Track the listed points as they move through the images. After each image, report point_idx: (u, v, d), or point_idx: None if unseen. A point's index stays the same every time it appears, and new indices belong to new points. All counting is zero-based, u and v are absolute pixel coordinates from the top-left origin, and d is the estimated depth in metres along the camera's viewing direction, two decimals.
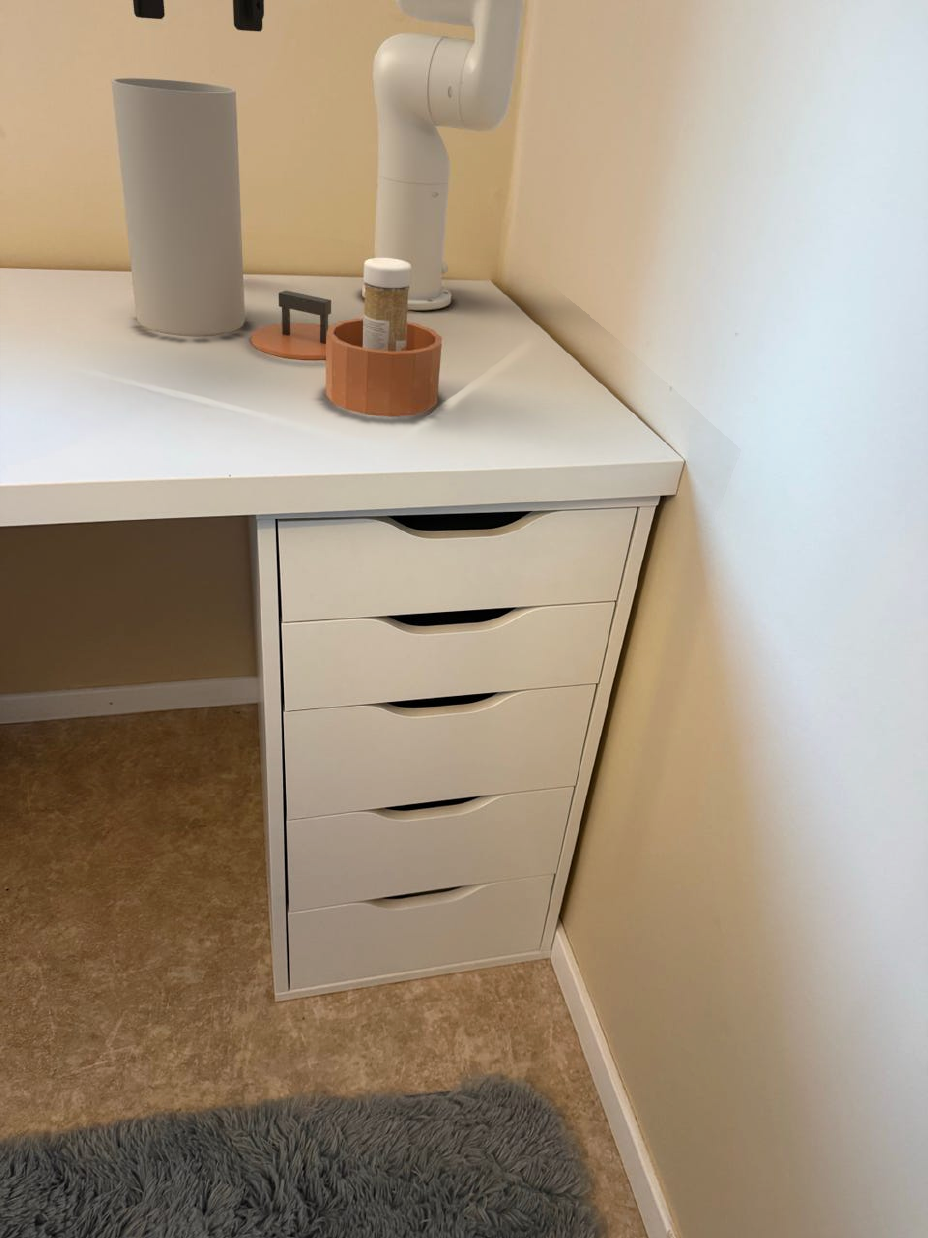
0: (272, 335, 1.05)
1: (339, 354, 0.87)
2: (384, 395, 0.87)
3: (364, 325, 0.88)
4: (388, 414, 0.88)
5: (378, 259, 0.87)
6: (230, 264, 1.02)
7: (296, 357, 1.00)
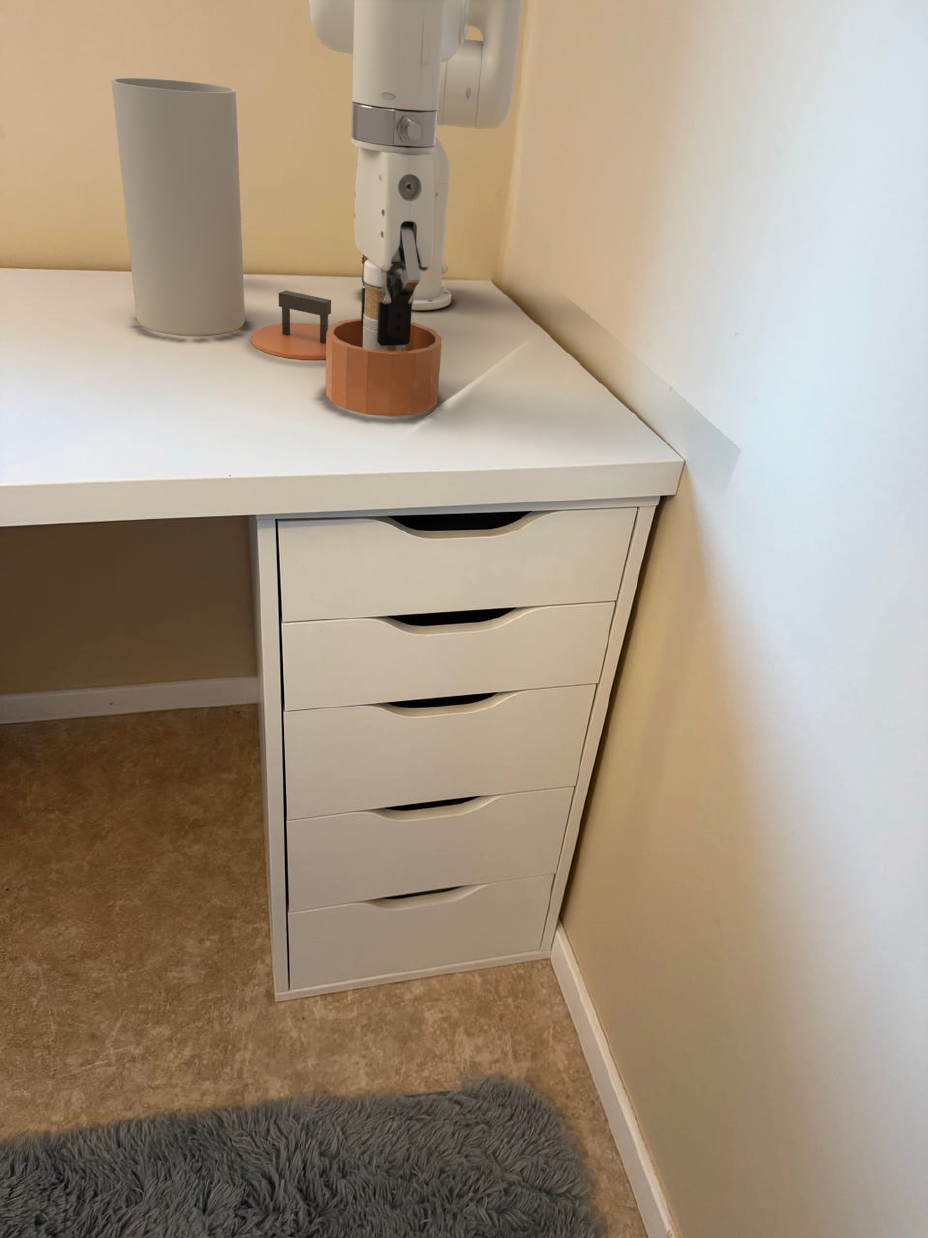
0: (272, 335, 1.05)
1: (339, 354, 0.87)
2: (384, 395, 0.87)
3: (364, 325, 0.88)
4: (388, 414, 0.88)
5: None
6: (230, 264, 1.02)
7: (296, 357, 1.00)
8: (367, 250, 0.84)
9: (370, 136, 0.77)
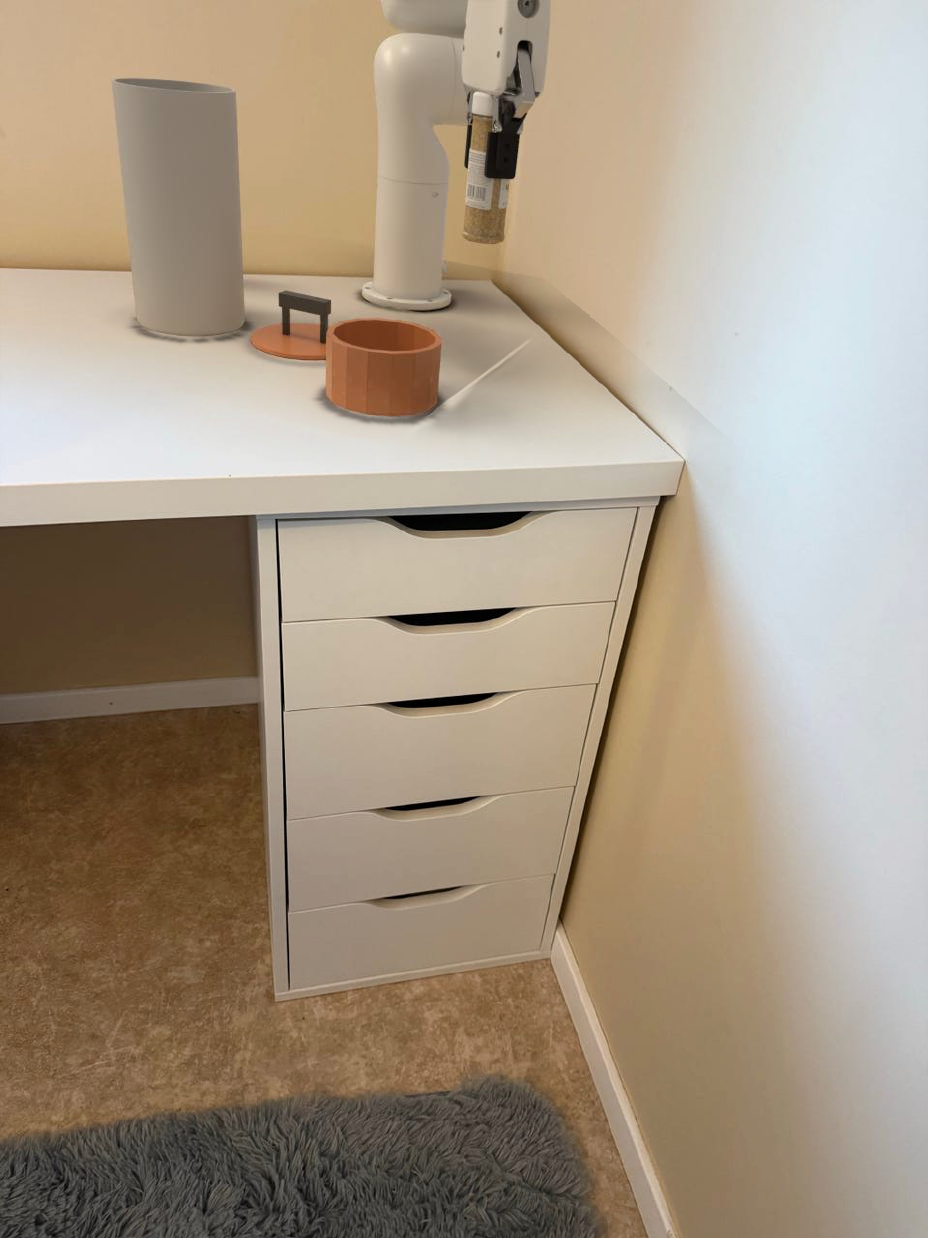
0: (272, 335, 1.05)
1: (339, 354, 0.87)
2: (384, 395, 0.87)
3: (470, 160, 0.90)
4: (388, 414, 0.88)
5: None
6: (230, 264, 1.02)
7: (296, 357, 1.00)
8: (478, 78, 0.86)
9: None
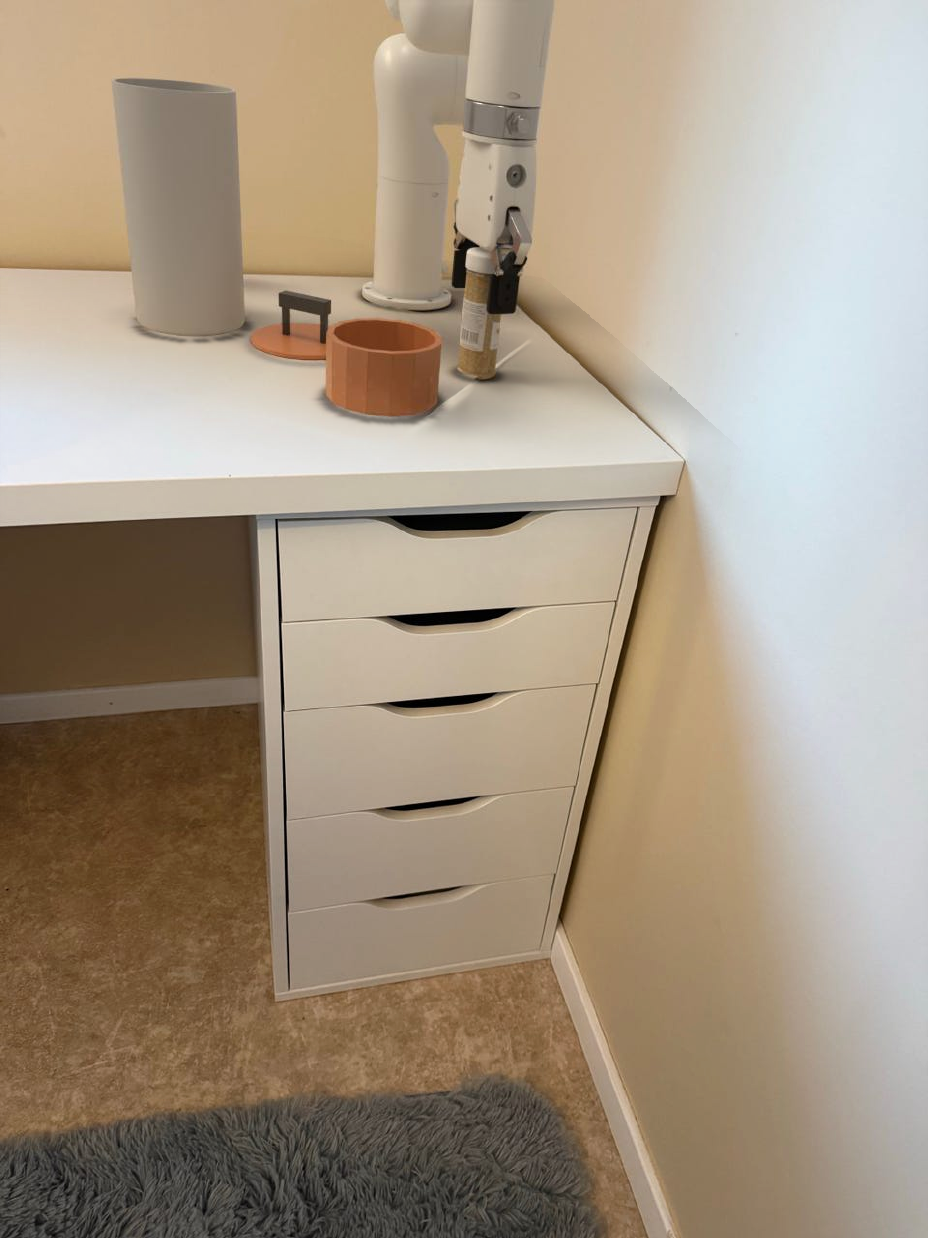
0: (272, 335, 1.05)
1: (339, 354, 0.87)
2: (384, 395, 0.87)
3: (464, 308, 0.98)
4: (388, 414, 0.88)
5: (479, 248, 0.96)
6: (230, 264, 1.02)
7: (296, 357, 1.00)
8: (471, 232, 0.94)
9: (483, 130, 0.87)
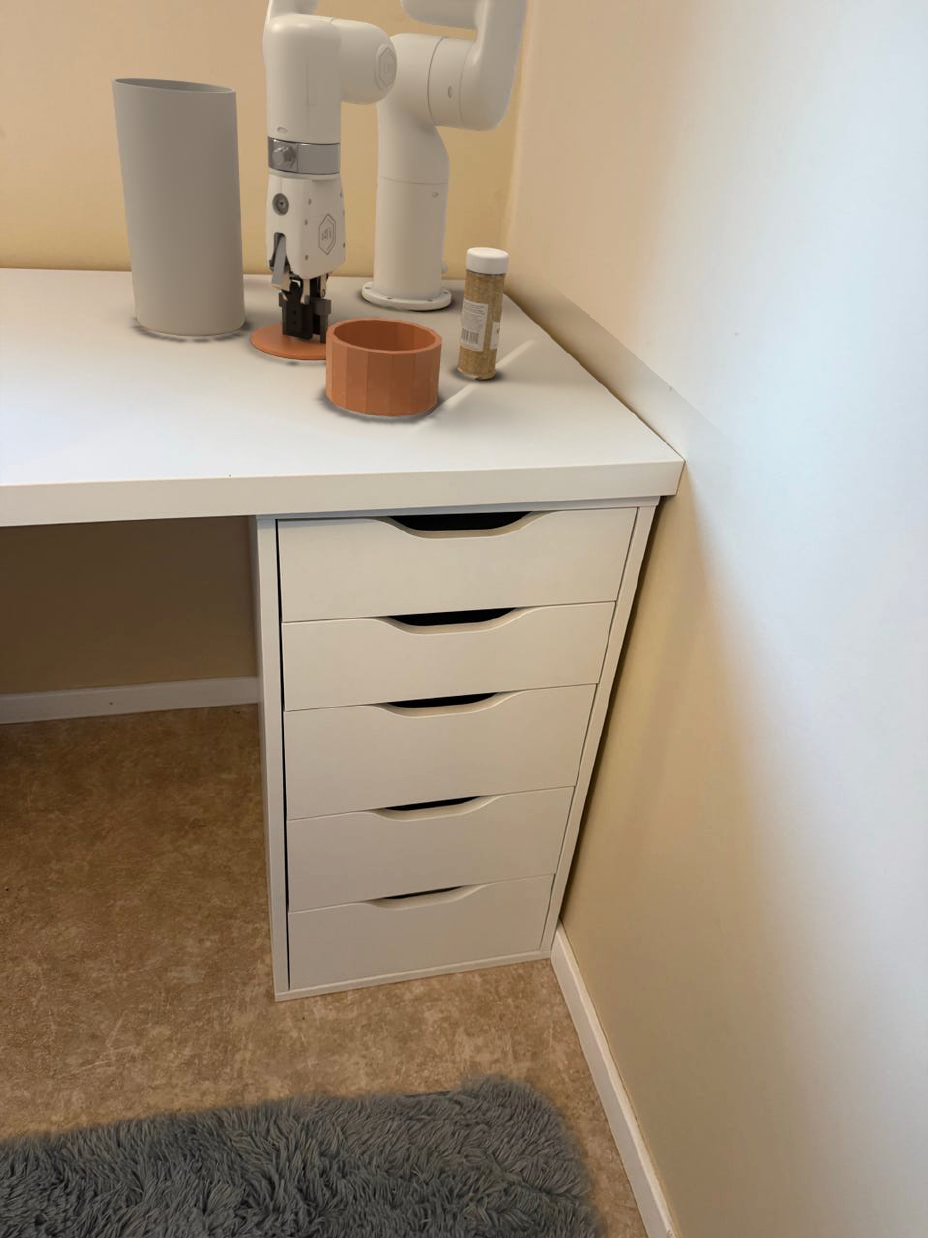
0: (272, 335, 1.05)
1: (339, 354, 0.87)
2: (384, 395, 0.87)
3: (464, 308, 0.98)
4: (388, 414, 0.88)
5: (479, 248, 0.96)
6: (230, 264, 1.02)
7: (296, 357, 1.00)
8: None
9: (268, 160, 0.94)
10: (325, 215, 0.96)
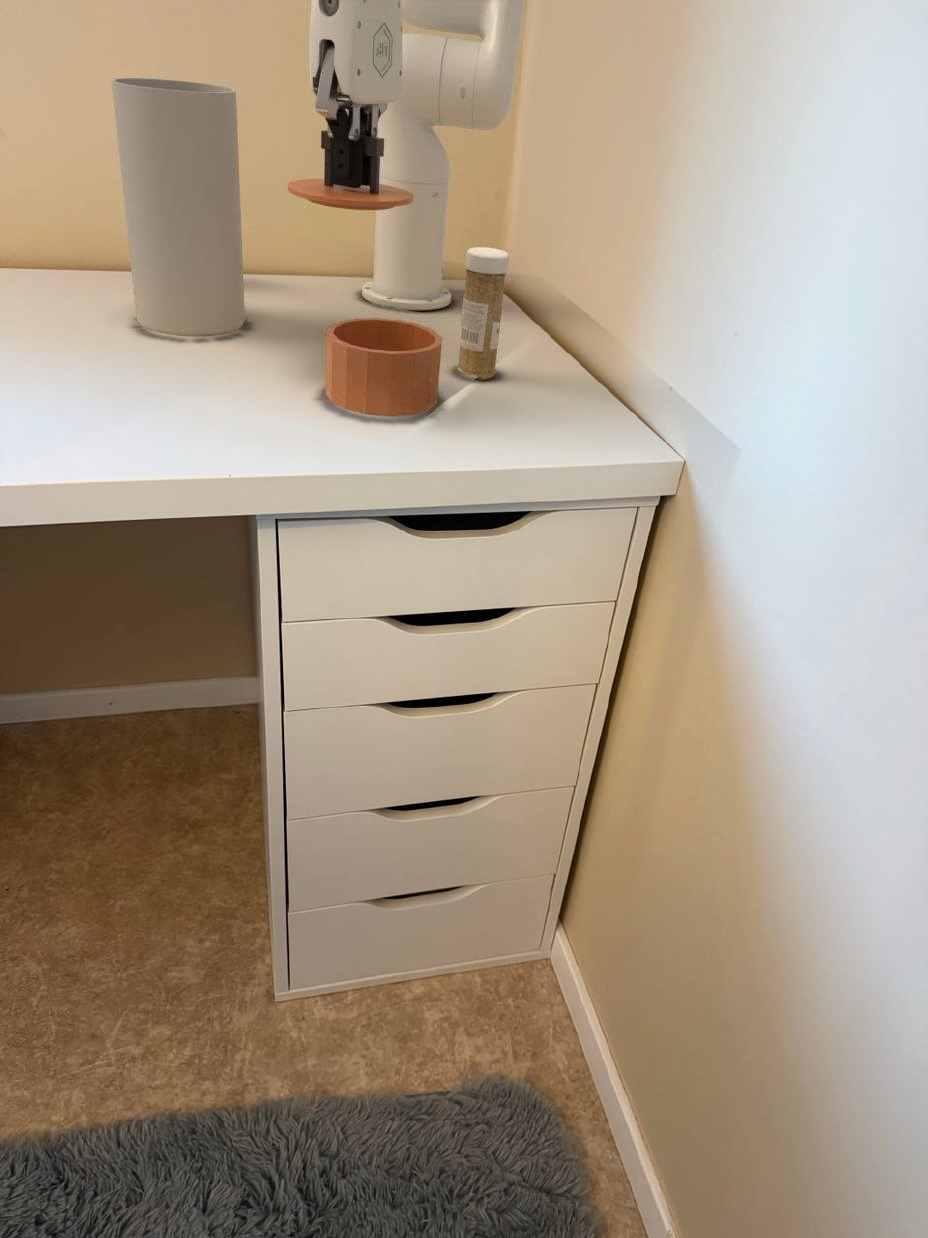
0: (312, 185, 0.88)
1: (339, 354, 0.87)
2: (384, 395, 0.87)
3: (464, 308, 0.98)
4: (388, 414, 0.88)
5: (479, 248, 0.96)
6: (230, 264, 1.02)
7: (343, 202, 0.83)
8: None
9: None
10: (381, 23, 0.79)
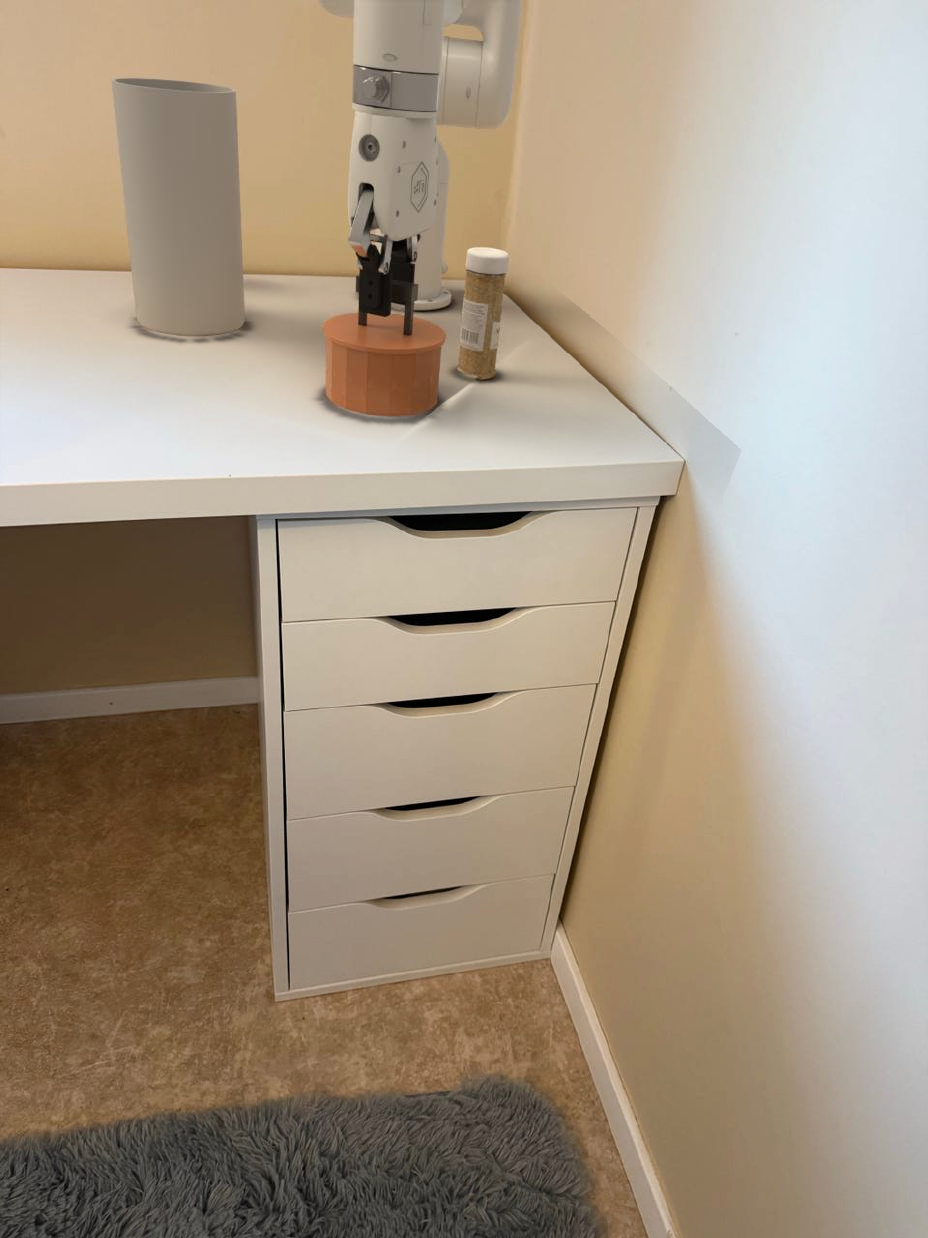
0: (347, 326, 0.89)
1: (339, 354, 0.87)
2: (384, 395, 0.87)
3: (464, 308, 0.98)
4: (388, 414, 0.88)
5: (479, 248, 0.96)
6: (230, 264, 1.02)
7: (379, 351, 0.85)
8: None
9: (352, 95, 0.77)
10: (419, 163, 0.80)
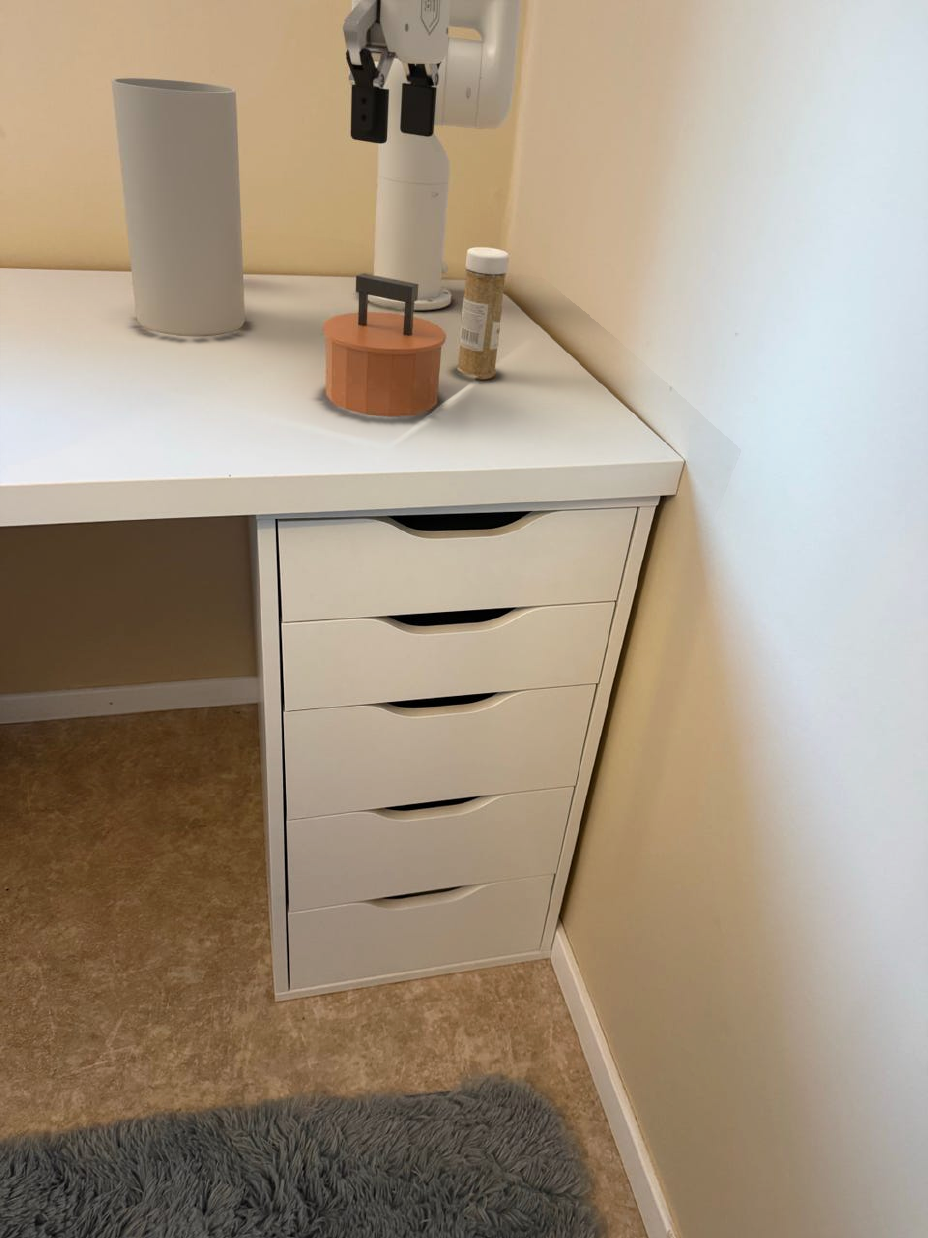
0: (347, 326, 0.89)
1: (339, 354, 0.87)
2: (384, 395, 0.87)
3: (464, 308, 0.98)
4: (388, 414, 0.88)
5: (479, 248, 0.96)
6: (230, 264, 1.02)
7: (379, 351, 0.85)
8: None
9: None
10: None
